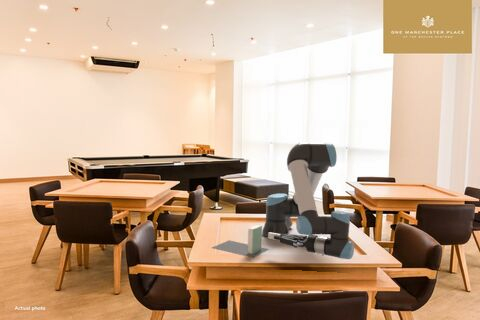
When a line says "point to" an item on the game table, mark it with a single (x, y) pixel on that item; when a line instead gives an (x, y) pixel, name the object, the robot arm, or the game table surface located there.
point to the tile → (254, 239)
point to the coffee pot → (288, 220)
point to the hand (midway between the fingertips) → (269, 235)
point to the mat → (238, 248)
